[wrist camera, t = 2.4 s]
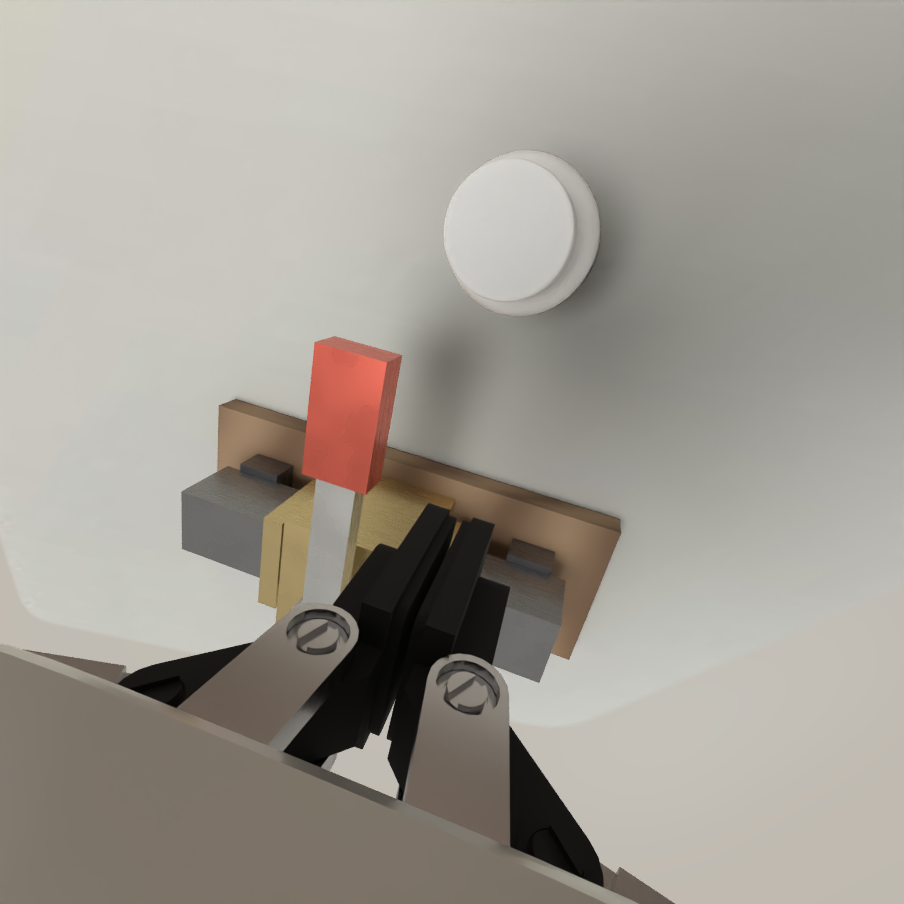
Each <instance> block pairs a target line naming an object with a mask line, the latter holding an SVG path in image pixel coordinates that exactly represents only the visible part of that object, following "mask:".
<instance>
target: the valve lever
mask: <svg viewBox="0 0 904 904" xmlns="http://www.w3.org/2000/svg"><path fill="white" fill-rule="evenodd" d="M401 358H402V355H399V354H396V353H392V352H389V351H385V350H381V349H378V348H374V347H371V346H367V345H364V344H360V343H356V342H353V341H349V340H346V339H342V338H338V337H335V336H334V337H331V338H327V339H324V340H320V341H317V342H315V345H314V355H313V365H312V375H311V385H310V395H309V405H308V416H307V426H306V436H305V446H304V456H303V466H302V474H303V475H307V476H310V477H313V478H316V485H315V494H314V503H313V512H312V521H311V530H310V539H309V548H308V557H307V566H306V574H305V583H304V592H303V596H302V598H301V599H300V600H299V601H298V602H297V603H296V604H295V606H294V607H293V608H292V609H291V610H290V611H289V612H291V611H292V610H294V609H295V608H298V607H301V606H304V605H307V604H316V603H322V604H330V605H333V603H334V602H335V601H336V599H337V598H338V597H339V595H340V594H341V593H342V591H343V590H344V589H345V587H346V586H347V585H348V583H349V582H350V581H351V575H352V569H353V562H354V556H355V550H356V543H357V537H358V531H359V524H360V518H361V512H362V505H363V499H364V495H366V494H367V493H368V492H369V491H370V490H371V489H372V488H373V487H374V486H375V485H376V484H377V483H378V482H379V481H380V480H381V475H382V469H383V464H384V458H385V452H386V446H387V440H388V434H389V429H390V423H391V417H392V411H393V405H394V399H395V393H396V388H397V382H398V376H399V370H400V364H401ZM289 612H288V613H289Z"/></svg>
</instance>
